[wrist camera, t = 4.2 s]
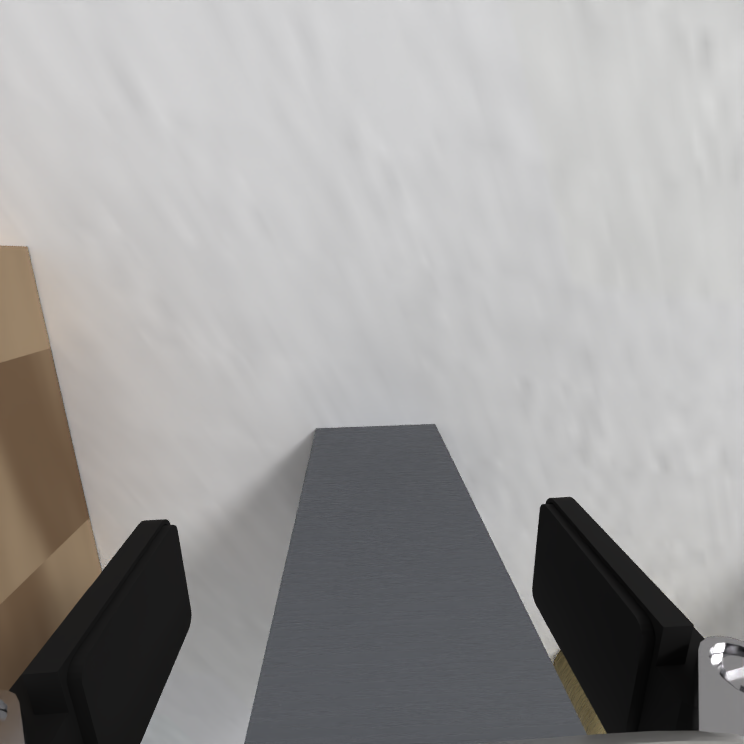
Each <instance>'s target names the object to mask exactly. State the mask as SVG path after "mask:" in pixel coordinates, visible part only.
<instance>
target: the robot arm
mask: <svg viewBox="0 0 744 744" xmlns="http://www.w3.org/2000/svg"><path fill="white" fill-rule="evenodd" d="M532 592H533V598H534V601H535V604H536V606H537V608H538V609H539V611H540V613H541V615H542V617H543V618H544V620H545V622H546V624H547V626H548V628H549V629H550V631H551V633H552V635H553V637H554V638H555V640H556V642H557V644H558V646H559V648H560V649H561V651H562V653H563V655H564V657H565V658H566V660H567V662H568V664H569V666H570V668H571V669H572V671H573V673H574V675H575V677H576V678H577V680H578V682H579V684H580V686H581V688H582V689H583V691H584V693H585V695H586V697H587V698H588V700H589V702H590V704H591V706H592V708H593V709H594V711H595V713H596V715H597V717H598V718H599V720H600V722H601V724H602V726H603V728H604V729H605V731H606V733H607V734H593V735H577V736H564V737H552V738H539V739H527V740H514V741H502V742H489V743H477V744H744V641H741V640H738V639H734V638H731V637H724V636H713V637H707V638H706V639H704V638H703V637H702V636H701V635H700V634H699V632H698V631H697V630H696V629H695V628H694V627H693V626H694V625H693V624H692V623H691V622H690V621H689V620H688V619H687V618H686V616H685V615H684V614H683V613H682V612H681V611H680V610H679V609H678V608H677V607H676V606H675V605H674V604H673V603H672V602H671V601H670V600H669V599H668V598H667V596H666V595H665V594H664V593H663V592H662V591H661V590H660V589H659V588H658V587H657V586H656V585H655V584H654V583H653V582H652V581H651V580H650V579H649V578H648V576H647V575H646V574H645V573H644V572H643V571H642V570H641V569H640V568H639V567H638V566H637V565H636V564H635V563H634V562H633V561H632V560H631V559H630V558H629V556H628V555H627V554H626V553H625V552H624V551H623V550H622V549H621V548H620V547H619V546H618V545H617V544H616V543H615V542H614V541H613V540H612V539H611V538H610V536H609V535H608V534H607V533H606V532H605V531H604V530H603V529H602V528H601V527H600V526H599V525H598V524H597V523H596V522H595V521H594V520H593V519H592V518H591V516H590V515H589V514H588V513H587V512H586V511H585V510H584V509H583V508H582V507H581V506H580V505H579V504H578V503H577V502H576V501H575V500H574V499H573V498H572V497H561V498H549V499H547V501H546V504H542V505H541V507H540V513H539V524H538V534H537V545H536V555H535V566H534V576H533V587H532ZM190 623H191V607H190V601H189V595H188V589H187V583H186V577H185V571H184V566H183V560H182V554H181V548H180V542H179V536H178V530H177V527H176V526H175V525H170V522H169V521H168V520H166V519H164V520H146V521H142V522H141V523H140V524H139V525H138V526H137V527H136V529H135V530H134V531H133V532H132V534H131V535H130V536H129V538H128V539H127V540H126V541H125V543H124V544H123V545H122V547H121V548H120V549H119V550H118V552H117V553H116V554H115V556H114V557H113V558H112V559H111V561H110V562H109V563H108V565H107V566H106V567H105V568H104V570H103V571H102V572H101V573H100V575H99V576H98V577H97V579H96V580H95V581H94V582H93V584H92V585H91V586H90V587H89V588H88V590H87V591H86V592H85V593H84V595H83V596H82V597H81V598H80V600H79V601H78V602H77V604H76V605H75V606H74V607H73V609H72V610H71V611H70V613H69V614H68V615H67V616H66V618H65V619H64V620H63V622H62V623H61V624H60V625H59V627H58V628H57V629H56V631H55V632H54V633H53V634H52V636H51V637H50V638H49V640H48V641H47V642H46V643H45V645H44V646H43V647H42V648H41V650H40V651H39V652H38V654H37V655H36V656H35V657H34V659H33V660H32V661H31V663H30V664H29V665H28V666H27V668H26V669H25V670H24V672H23V673H22V674H21V675H20V677H19V678H18V679H17V681H16V682H15V683H14V684H13V686H12V687H11V688H10V690H9V691H8V690H0V744H140V743H141V741H142V738H143V736H144V734H145V731H146V729H147V727H148V724H149V722H150V719H151V717H152V715H153V712H154V710H155V708H156V705H157V703H158V701H159V698H160V696H161V693H162V691H163V689H164V686H165V684H166V682H167V679H168V677H169V675H170V672H171V670H172V667H173V665H174V663H175V660H176V658H177V656H178V653H179V651H180V649H181V646H182V644H183V641H184V639H185V637H186V634H187V632H188V630H189V627H190Z"/></svg>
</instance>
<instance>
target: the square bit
mask: <svg viewBox="0 0 744 744" xmlns="http://www.w3.org/2000/svg"><path fill="white" fill-rule="evenodd" d="M577 735H587V733H586V731H585V729H584V727H583V725H582V723H581V721H580V719H579V717H578V715H577V713H576V711H575V709H574V707H573V705H572V703H571V701H570V699H569V697H568V695H567V692H566V690H565V688H564V686H563V684H562V682H561V680H560V678H559V676H558V674H557V672H556V670H555V668H554V666H553V664H552V662H551V660H550V658H549V656H548V654H547V652H546V650H545V648H544V646H543V643H542V641H541V639H540V637H539V635H538V633H537V631H536V629H535V627H534V625H533V623H532V621H531V619H530V617H529V615H528V613H527V611H526V609H525V607H524V605H523V603H522V601H521V599H520V597H519V594H518V592H517V590H516V588H515V586H514V584H513V582H512V580H511V578H510V576H509V574H508V572H507V570H506V568H505V566H504V564H503V562H502V560H501V558H500V556H499V554H498V552H497V550H496V548H495V546H494V543H493V541H492V539H491V537H490V535H489V533H488V531H487V529H486V527H485V525H484V523H483V521H482V519H481V517H480V515H479V513H478V511H477V509H476V507H475V505H474V503H473V501H472V499H471V497H470V494H469V492H468V490H467V488H466V486H465V484H464V482H463V480H462V478H461V476H460V474H459V472H458V470H457V468H456V466H455V464H454V462H453V460H452V458H451V456H450V454H449V452H448V450H447V448H446V445H445V443H444V441H443V439H442V437H441V435H440V433H439V431H438V429H437V427H436V425H435V424H426V425H399V426H372V427H345V428H318V429H316V431H315V436H314V440H313V445H312V449H311V453H310V458H309V462H308V467H307V471H306V475H305V480H304V484H303V488H302V493H301V497H300V502H299V506H298V510H297V515H296V519H295V524H294V528H293V532H292V537H291V541H290V545H289V550H288V554H287V559H286V563H285V567H284V572H283V576H282V581H281V585H280V589H279V594H278V598H277V602H276V607H275V611H274V616H273V620H272V624H271V629H270V633H269V638H268V642H267V646H266V651H265V655H264V659H263V664H262V668H261V673H260V677H259V681H258V686H257V690H256V695H255V699H254V703H253V708H252V712H251V716H250V721H249V725H248V730H247V734H246V738H245V743H244V744H477V743H489V742H502V741H514V740H527V739H539V738H552V737H564V736H577Z"/></svg>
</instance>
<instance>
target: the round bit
mask: <svg viewBox="0 0 744 744" xmlns="http://www.w3.org/2000/svg"><path fill="white" fill-rule="evenodd" d="M553 666H554V668H555V670H556V672H557V674H558V676H559V678H560V680H561V682H562V684H563V686H564V688H565V690H566V692H567V695H568V697H569V699H570V701H571V703H572V705H573V707H574V709H575V711H576V713H577V715H578V717H579V719H580V721H581V723H582V725H583V727H584V729H585V731H586V733H587V735H593V734H607V733H606V731H605V729H604V728H603V726H602V724H601V722H600V720H599V718H598V717H597V715H596V713H595V711H594V709H593V708H592V706H591V704H590V702H589V700H588V698H587V697H586V695H585V693H584V691H583V689H582V688H581V686H580V684H579V682H578V680H577V678H576V677H575V675H574V673H573V671H572V669H571V668H570V666H569V664H568V662H567V660H566V658H565V657H564V655H563V653H562V651H560V652H559V654H558V655H557V657H556V659H555V661H554V664H553Z"/></svg>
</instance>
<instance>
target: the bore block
mask: <svg viewBox="0 0 744 744" xmlns="http://www.w3.org/2000/svg"><path fill="white" fill-rule="evenodd" d="M101 572H102V571H101V567H100V562H99V558H98V554H97V549H96V545H95V541H94V536H93V532H92V527H91V523H90V519H89V514H88V510H87V506H86V501H85V497H84V492H83V488H82V484H81V479H80V475H79V471H78V466H77V462H76V458H75V453H74V449H73V444H72V440H71V436H70V431H69V427H68V423H67V418H66V414H65V409H64V405H63V401H62V396H61V392H60V388H59V383H58V379H57V374H56V370H55V366H54V361H53V357H52V353H51V348H50V344H49V340H48V335H47V331H46V326H45V322H44V318H43V313H42V309H41V305H40V300H39V296H38V291H37V287H36V283H35V278H34V274H33V270H32V265H31V261H30V256H29V252H28V248H27V247H22V246H0V690H8V691H9V690H10V688H11V687H12V686H13V684H14V683H15V682H16V681H17V679H18V678H19V677H20V675H21V674H22V673H23V672H24V670H25V669H26V668H27V666H28V665H29V664H30V663H31V661H32V660H33V659H34V657H35V656H36V655H37V654H38V652H39V651H40V650H41V648H42V647H43V646H44V645H45V643H46V642H47V641H48V640H49V638H50V637H51V636H52V634H53V633H54V632H55V631H56V629H57V628H58V627H59V625H60V624H61V623H62V622H63V620H64V619H65V618H66V616H67V615H68V614H69V613H70V611H71V610H72V609H73V607H74V606H75V605H76V604H77V602H78V601H79V600H80V598H81V597H82V596H83V595H84V593H85V592H86V591H87V590H88V588H89V587H90V586H91V585H92V584H93V582H94V581H95V580H96V579H97V577H98V576H99V575H100V573H101Z"/></svg>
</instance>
